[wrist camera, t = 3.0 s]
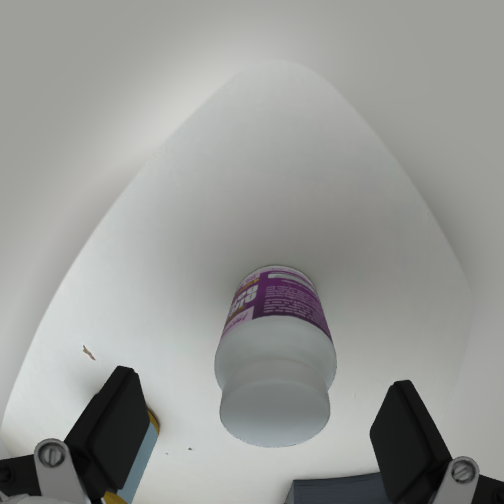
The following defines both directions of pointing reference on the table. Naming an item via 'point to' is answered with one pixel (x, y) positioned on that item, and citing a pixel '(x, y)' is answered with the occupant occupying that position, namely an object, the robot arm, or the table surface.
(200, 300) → the table surface
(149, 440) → the bottle
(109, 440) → the robot arm
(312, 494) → the dark grey open box
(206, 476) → the table surface
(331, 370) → the pill bottle
